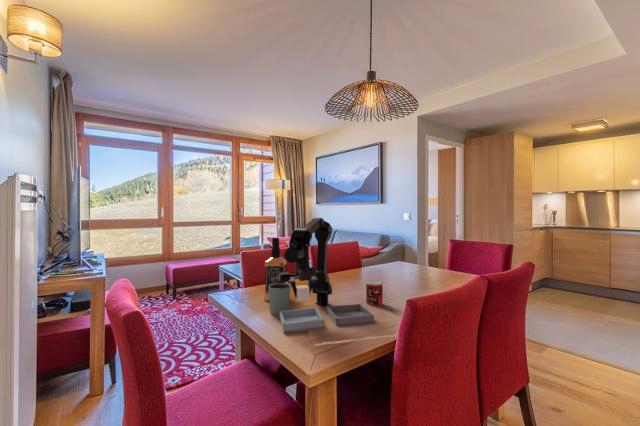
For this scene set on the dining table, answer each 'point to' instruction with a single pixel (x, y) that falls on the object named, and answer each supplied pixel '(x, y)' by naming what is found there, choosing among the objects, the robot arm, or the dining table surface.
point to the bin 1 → (300, 319)
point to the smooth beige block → (303, 293)
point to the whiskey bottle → (274, 267)
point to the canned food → (374, 293)
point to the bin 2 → (349, 314)
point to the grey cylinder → (279, 297)
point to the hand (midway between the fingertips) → (302, 296)
